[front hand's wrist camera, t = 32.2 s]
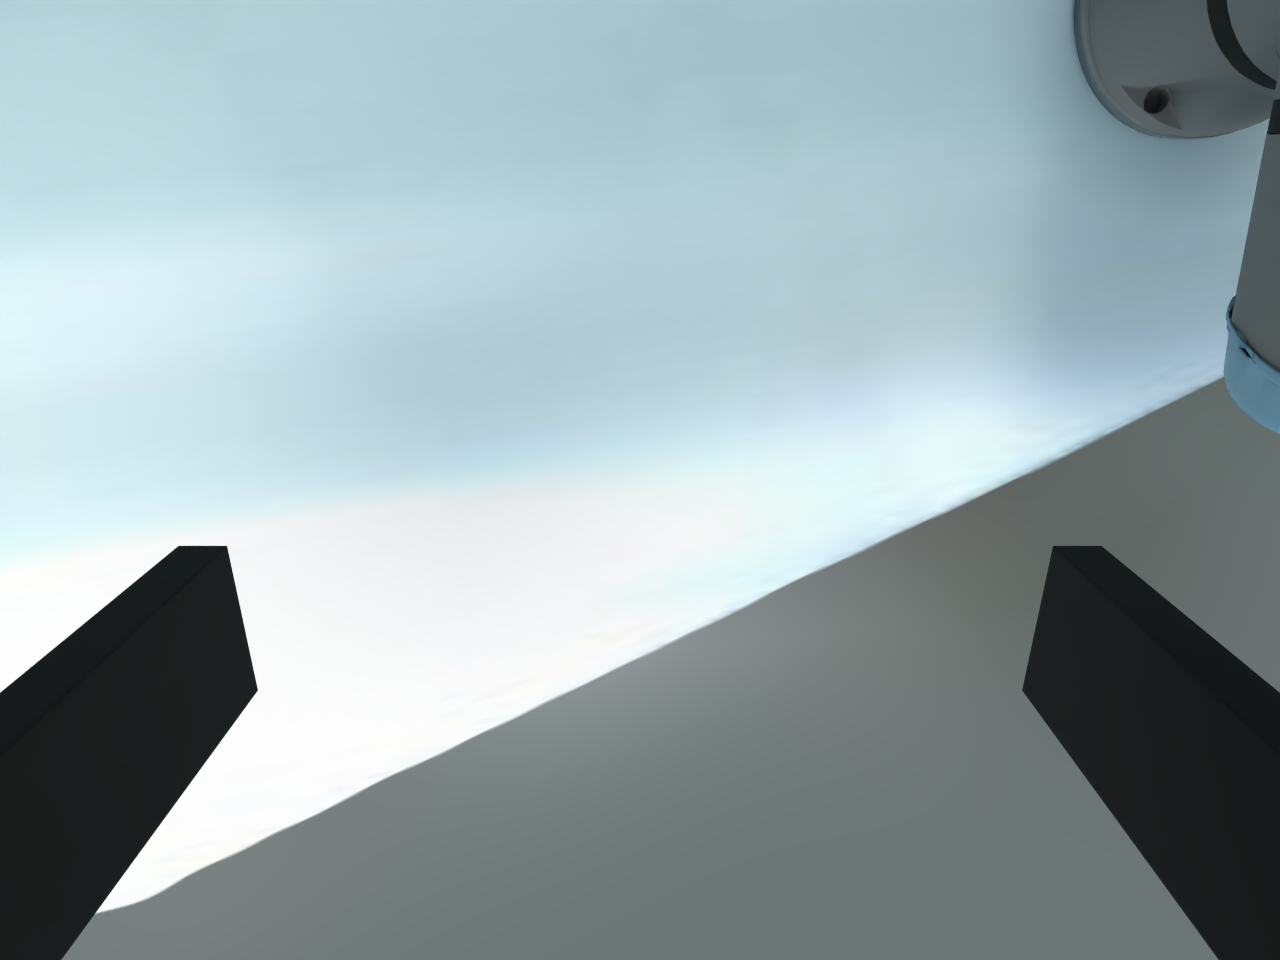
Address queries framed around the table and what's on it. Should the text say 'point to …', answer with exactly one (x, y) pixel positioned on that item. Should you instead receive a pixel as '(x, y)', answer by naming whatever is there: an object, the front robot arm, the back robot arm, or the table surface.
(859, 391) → the table surface
